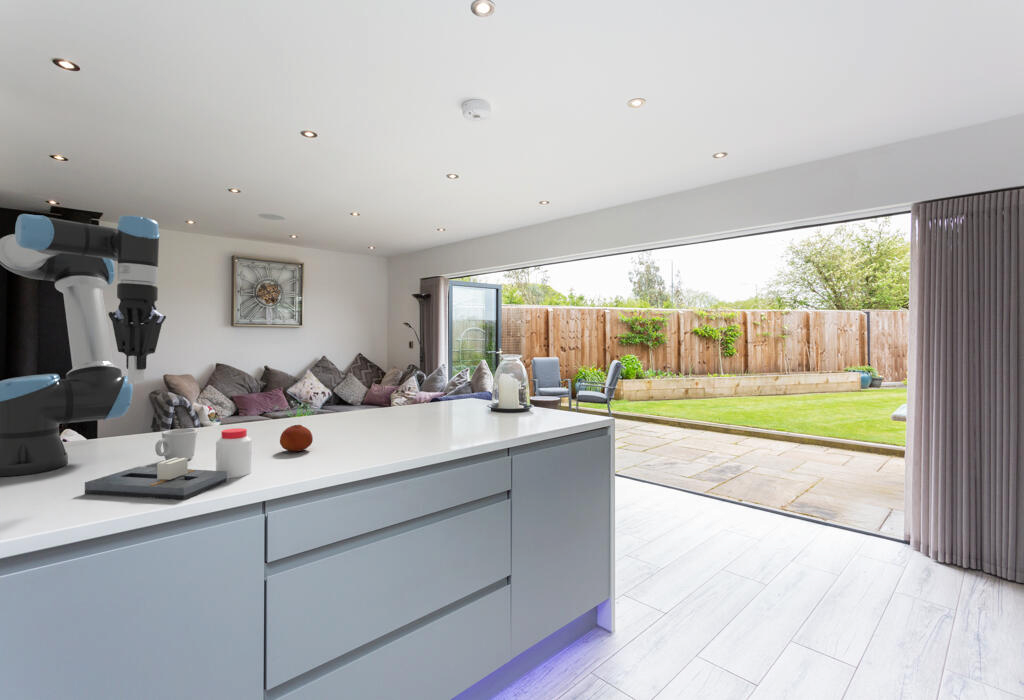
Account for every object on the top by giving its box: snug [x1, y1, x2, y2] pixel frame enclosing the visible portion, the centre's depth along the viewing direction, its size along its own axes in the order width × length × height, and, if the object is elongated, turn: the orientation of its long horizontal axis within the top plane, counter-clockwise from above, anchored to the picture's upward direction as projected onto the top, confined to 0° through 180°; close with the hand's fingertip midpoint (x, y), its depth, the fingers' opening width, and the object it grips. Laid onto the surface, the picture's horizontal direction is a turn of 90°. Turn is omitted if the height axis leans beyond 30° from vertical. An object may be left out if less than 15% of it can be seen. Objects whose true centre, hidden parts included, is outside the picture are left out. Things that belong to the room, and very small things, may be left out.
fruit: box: [279, 424, 314, 453], centre depth 144 cm, size 9×9×8 cm
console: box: [84, 466, 228, 501], centre depth 107 cm, size 23×13×3 cm, turn 84°
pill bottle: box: [215, 427, 253, 479], centre depth 119 cm, size 8×8×11 cm
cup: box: [154, 428, 198, 461], centre depth 129 cm, size 11×8×8 cm
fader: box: [156, 458, 189, 480], centre depth 107 cm, size 4×5×5 cm
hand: (136, 383), depth 112 cm, fingers closed
